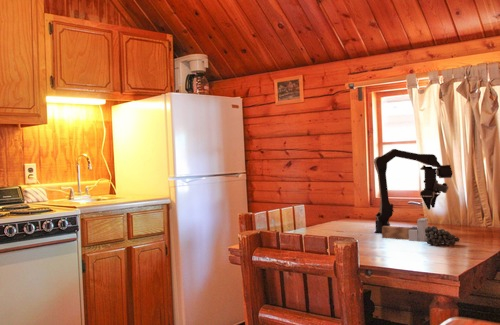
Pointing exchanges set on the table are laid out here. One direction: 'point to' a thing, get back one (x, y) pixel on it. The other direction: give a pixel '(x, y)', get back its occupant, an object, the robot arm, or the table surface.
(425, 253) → the table surface
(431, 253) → the table surface
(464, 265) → the table surface
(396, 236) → the rail
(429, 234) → the fruit
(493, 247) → the table surface
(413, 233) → the grey block with legs
